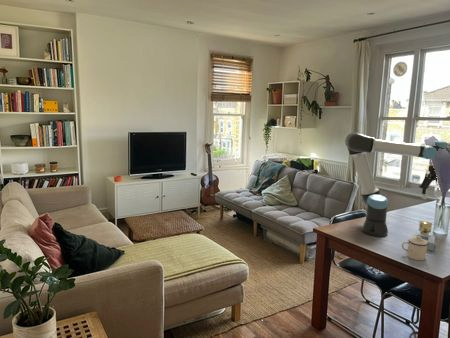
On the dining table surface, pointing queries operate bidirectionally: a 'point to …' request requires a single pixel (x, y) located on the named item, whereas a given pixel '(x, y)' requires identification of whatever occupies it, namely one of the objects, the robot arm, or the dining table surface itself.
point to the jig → (427, 238)
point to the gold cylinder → (425, 227)
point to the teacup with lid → (416, 248)
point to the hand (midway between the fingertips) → (431, 198)
